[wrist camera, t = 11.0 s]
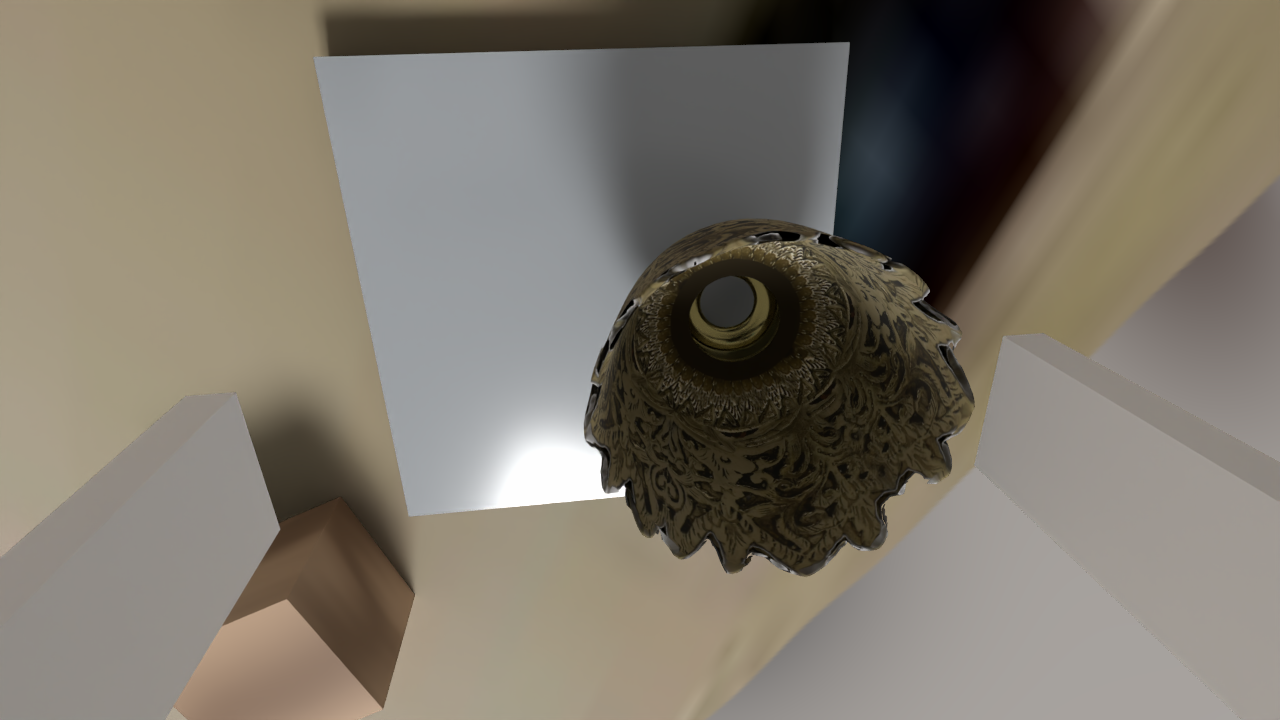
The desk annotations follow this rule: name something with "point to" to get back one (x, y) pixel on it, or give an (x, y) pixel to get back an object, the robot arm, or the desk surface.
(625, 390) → the dark brown round vessel
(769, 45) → the plate
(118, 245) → the desk surface
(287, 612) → the tan cube
